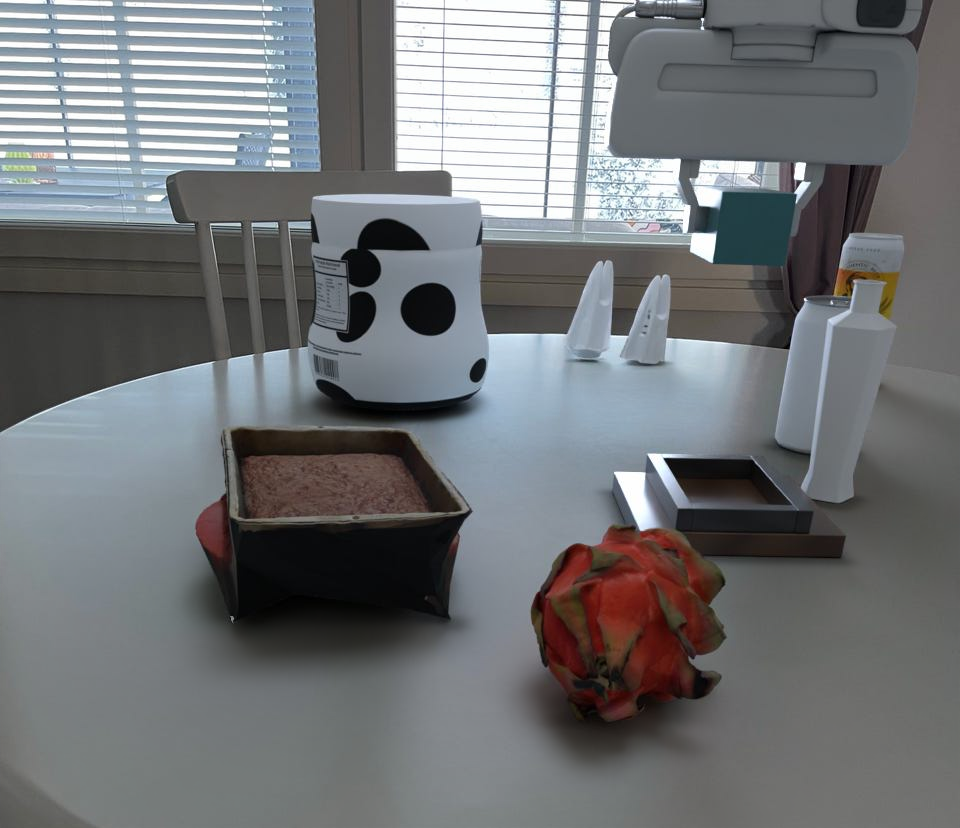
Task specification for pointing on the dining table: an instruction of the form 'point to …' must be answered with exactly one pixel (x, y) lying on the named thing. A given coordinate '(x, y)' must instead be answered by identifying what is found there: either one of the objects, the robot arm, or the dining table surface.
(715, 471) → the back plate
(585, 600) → the dragon fruit
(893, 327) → the perfume bottle
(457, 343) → the milk container
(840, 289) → the beer can
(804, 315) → the can
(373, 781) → the dining table surface
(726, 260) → the teal rectangular block
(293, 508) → the baking dish
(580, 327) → the shaker set
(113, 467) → the dining table surface
